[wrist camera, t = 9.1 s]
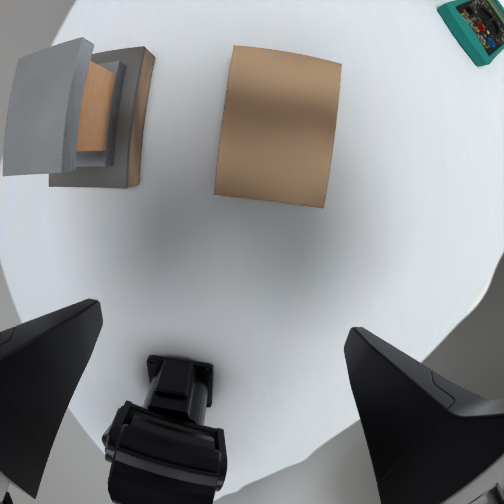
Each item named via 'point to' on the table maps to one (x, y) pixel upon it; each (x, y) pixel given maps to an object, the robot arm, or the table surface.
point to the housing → (62, 111)
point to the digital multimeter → (476, 27)
